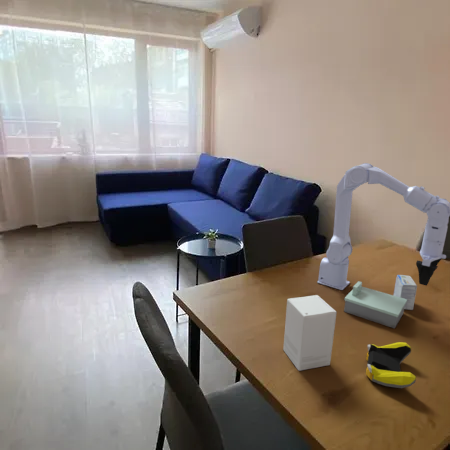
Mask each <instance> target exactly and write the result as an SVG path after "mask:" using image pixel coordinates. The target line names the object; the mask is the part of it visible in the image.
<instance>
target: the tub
mask: <svg viewBox="0 0 450 450" xmlns="http://www.w3.org/2000/svg"><path fill="white" fill-rule="evenodd" d="M404 308H405V306H404ZM404 308H403V309H402V311H401V313H400V314H399V316H398V317H395V316H392V315H389V314H386V313H383V312H380V311H377V310H373V309H370V308H367V307H364V306H361V305H358V304H355V303H352V302H348V301H345V300H344V308H343V312H344V313H347V314H350V315H354V316H357V317H360V318H362V319H364V320H368V321H371V322H374V323H377V324H381V325H383V326H386V327H389V328H392V329H395V328H396V327H397V326H398V323H399V322H400V320H401V318H402V316H403V315H404V312H405V309H404Z"/></svg>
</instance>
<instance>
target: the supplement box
mask: <svg viewBox="0 0 450 450" xmlns="http://www.w3.org/2000/svg"><path fill="white" fill-rule="evenodd" d="M285 309H286V310H285V323H284V324H285V325H284V336H283V351H284V353H285V355H287V357H288V359H289V360H290V361H291V362H292V364H293V365H294V367H295V368H296V369H297V371H299V372H301V371H305V370H310V369H315V368H320V367H325V366H330V365H331V361H332V352H333V344H334V335H335V327H336V319H337V311H336V310H335V309H334V308H333V307H332V306H331V305H330V304H328V303H327V302H326V301H325V300H324V299H323V298H321V296H319V295H318V294H315V295H314V294H313V295H307V296H301V297H300V296H299V297H291V298H287V301H286V308H285Z"/></svg>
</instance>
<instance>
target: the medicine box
mask: <svg viewBox="0 0 450 450" xmlns="http://www.w3.org/2000/svg"><path fill="white" fill-rule="evenodd" d="M417 288H418V285H417V284H416V282H415V281H414V279H413V278H412V277H411V276H410V275H404V274H397V275H396V277H395V284H394V290H393V294H392V295H393V296H397V297H400V298H404V299H407V302H406V304H405V308H404V310H409V311H413V310H414V305H415V300H416V296H417Z"/></svg>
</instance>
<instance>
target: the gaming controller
mask: <svg viewBox="0 0 450 450" xmlns="http://www.w3.org/2000/svg"><path fill="white" fill-rule="evenodd" d="M411 352H412V347H411V345H409V344H408V343H407V342H402V341H401V342H400V341H398V342H393V343H389V344H386V345H381V346H379V345H376V344H373V343H371V344H367V353H366V355H365V356H366V357H365V361H367V367H366V369H365V375H366V377H368V378H369V380H370V381H371V382H374V383H376V384H378V385H382V386H385V387H390V388H396V389H397V388H398V389H403V388H404V389H405V388H409V387H410V386H412V385H414V384H415V383H416V380H417V377H416V375H415V374H413V373H412V372H410V371H401V363H403V361H404V360H405V359H406V358H407V357H408V356H409V355H410V354H411Z"/></svg>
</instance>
